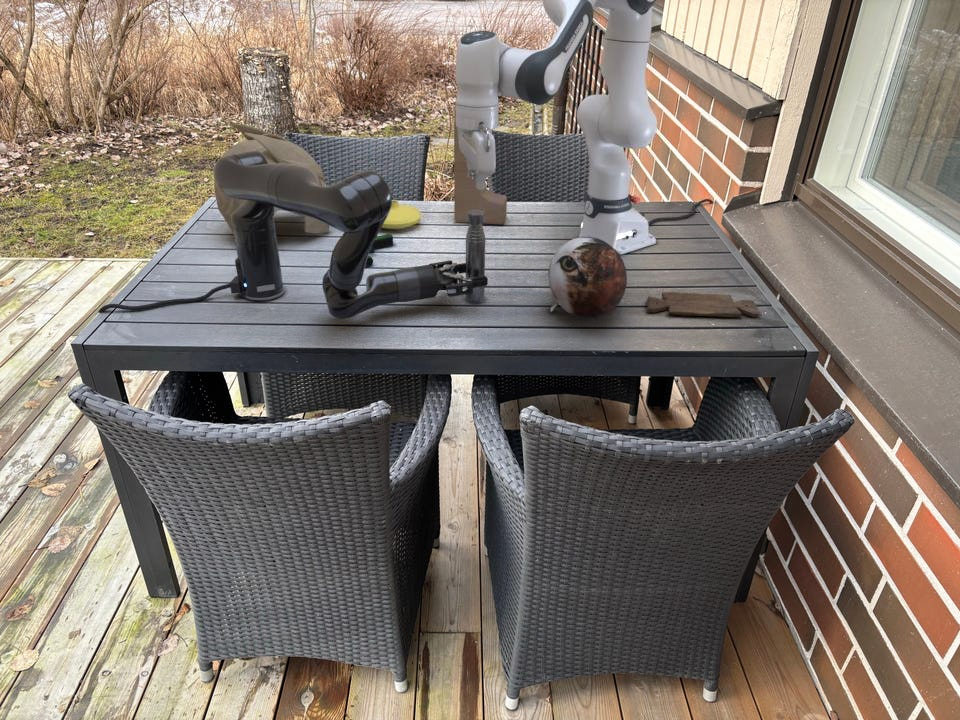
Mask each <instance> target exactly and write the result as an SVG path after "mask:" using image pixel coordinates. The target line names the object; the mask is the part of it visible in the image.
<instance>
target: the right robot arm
mask: <svg viewBox="0 0 960 720" xmlns="http://www.w3.org/2000/svg"><path fill="white" fill-rule="evenodd" d="M656 2H657V0H542V6H543V9H544V11H545V13H546V15H547V17H548V18H549V20H550V21H551V22H552V23H553V24H554V25H555V26H556V27H558V29H557V30H556V32H555V34H554V35H553V37H552V38H551V40H550V42H549V43H548V45H547V46H545V47H544V48H539V49H526V48H520V47H514V46H511V45H509V44H507V43H504V42H503V41H502V40H500V38H498V35H497V33H495V32H493V31H491V30H478V31H471V32H468V33H465V34H464V35H463V36H461V37H460V39H459V41H458V44H457V47H456V55H455V84H456V88H457V93H456V98H455V108H454V120H455V119H456V127H457V128H458V141H459V148H460V151H461V152H462V153H463V155H464V156H465V157H466V162H467V168H468V177H469V178H470V179H476V188H477V189H478V190H484V189H485V186H486V180H487V177H488V175H493V174H495V172H496V167H497V166H496V165H497V161H496V159H497V158H496V157H497V156H496V139H495V136H494V134H493V130H495V129H497V128H498V126H499V103H500V102H499V96H503V97H506V98H512V99H516V100H521V101H524V102H527V103H530V104H533V105H536V106H543V105H546V104H548V103H549V102H550V101H551V100H552V99H554V98H555V97H556V95H557V94H558V93H559V91H560V89H561V87H562V85H563V81H564V79H565V75H566V74H567V71H568V69H569V67H570V66H571V64H572V62H573V60H574V59H575V57H576V55H577V53H578V51H580V48H581V46H582V44H583V43H584V41H585V40H586V38H587V35H588V34H589V32H590V29H591V28H592V24H593V21H594V7H595V8H601V9H605V10H609V14H608V17H607V22H606V27H605V33H604V40H603V48H602V55H601V63H600V73H601V76H602V78H603V79H604V81H605V83H606V84H605V85H606V87H607V93H608V94H605V93H604V94H603V93H602V94H591V95H588V96H586V97H585V98H584V99H582V101H581V102H580V104H579V106H578V108H577V111H576V121H577V124H578V126H579V128H580V130H581V131H582V133H583V137H584V141H585V145H586V149H587V156H588V167H589V168H588V182H587V191H586V192H585V196H584V216H583V220H582V223H581V225H580V231H579V234H578V237H594V238H598V239H601V240H604V241H605V242H607V243H608V244H610V245H611V246H612V247H613V248H614V249H615V250H616V251H617V252H618V253H619V255H625V254H628V253H631V252H634V251H637V250H640V249H643V248H646V247H650V246H652V245H655V244H656V243H657V239H656V237H655V236H654V235H653V234H651V233H650V232H649V230H650V229H649V228H650V226H651V225H652V224H653V223H655V222H658V221H674V220H681V219H685V218H688V217H691V216H693V215H694V214H695V213H696V208H697V206H699V205H701V204H704V203H706V202H708V203H710V204H714V201H713V200H712V199H710V198H705V199H702V200H700V201H698V202H696V203H695V204H693V206H692V211H691V212H689V213H688V214H687V213H686V214H685V215H679V216H680V217H679V216H672V217H671V216H670V217H669V216H668V217H667V216H666V217H656V218H653V219H650V221H649V222H648V220H647V218H646V217H645V213H643V212H639V211H637V210H636V208H634V207H633V203H634V205H639V203H640V202H641V198H640V197H639V196H637V195H636V194H635V195H631V194H630V192H629V191H630V183H631V175H632V165H631V163H630V160H629V159H628V157H627V155H626V152H625V149H632V150H633V149H634V150H636V149H637V150H641V149H644V148H646V147H647V146H649V144H651V143H652V141H653V140H654V138H655V136H656V134H657V131H658V119H657V116H656V114H655V113H654V111H653V110H652V109H653V108H652V107H651V105H650V102H649V96H648V92H647V91H648V90H647V79H646V74H647V65H648V57H649V49H650V42H651V37H652V25H653V6H654V5H655V3H656ZM697 203H698V204H697Z"/></svg>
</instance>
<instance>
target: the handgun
mask: <svg viewBox="0 0 960 720" xmlns="http://www.w3.org/2000/svg"><path fill="white" fill-rule="evenodd" d="M392 246H394V236H393V234H392V233H387V234H382V235H377V237H376V239H375V241H374V243H373V245H372V248H371V250H370V252H369V255H368V258H367V261H366V265H365V268H366V267H371V266H373V264H374V259H373V257H372V256H370V255H371V254H374V253H375V250H376V249H380V248H386V247H392Z"/></svg>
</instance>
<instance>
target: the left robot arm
mask: <svg viewBox="0 0 960 720" xmlns="http://www.w3.org/2000/svg"><path fill="white" fill-rule="evenodd" d="M212 173H213V179H214V180H215V182H216V184H217V186H218V187H219V189H220V190H221V191H222V192H223V193H224V194H225V195H226V196H228V197H229V198H232V199H242V200H246V201H245V202H244V203H243V204H242V205H241V206H240V207H239V208H237V209H236V210H235V211H234V212H233V213H232V215H231V222H232V227H233V232H232V233H234V234H233V238H234V245H235V250H236V255H237V257H236V258H235V260H234V264H235V271H236V275H235V276H234V277H233V278H232V280H230V282H229V283H226V284H222V285H220V286H219V285H218V286H216V287H214V288H212V289H210V290H209V291H208V292H207V293H205V294H204V295H201V296H197V297H189V298H174V299H167V300H161V301H156V302H153V303H147V304H142V305H141V304H140V305H126V304H119V303H108V304H105V305H103V306H101V307H100V308H99V309H98V311H97V313H98V314H102V313H104V312H105V311H107V310H109V309H119V310H124V311H141V310H148V309H152V308H157V307H162V306H167V305H172V304H185V303H186V304H188V303H197V302H201V301H205V300H207V299H209V298H210V297H211V296H212V295H214V294H215V293H217V292H220V291H223V290H227V289H230V292H231V294H240V298H242V299H247V300H248V301H251V302H252V301H253V302H266V301H273V300H275V299H277V298H279V297H281V296H283V294H285V286H284V281H283V273H282V267H281V260H280V253H279V245H278V239H277V232H276V231H277V230H276V225H275V214H274V212H275V207H277V208H279V210H283V211H285V212H289V213H293V214H295V213H297V214H296V215H299V214H301V215H300V216H302V215H304V216H307V217H310V218H313V219H316V220H318V221H320V222H323V223H325V224H327V225H329V226H330V227H331V228H333V229H335V230H337V231H340V232H342V235H341V236H340V238H338V240H337V242H336V243H335V246H334V248H333V250H332V252H331V256H330V261H329V267H328V269H327V271H326V272H325V273H324V274H323V277H322V281H321V286H322V292H323V295H324V299H325V302H326V307H327V310H328V313H329V314H330V315H331V316H332V317H333V318H336V319H338V320H349V319H351V318H353V317H356V316H358V315H360V314H362V313H364V312H366V311H369V310H372V309H374V308H377V307H379V306H383V305H390V304H396V303H409V302H415V301H421V300H427V299H433V298H436V297H437V295H438V293H439V292H440V291H443V292H444V291H446V296H447V297H449V298H450V297H459V296H465V295H467V294H472V293H473V288H476V287H483V286H485V287H486V286H488V283H489V281H488V280H489V279H488V277H487V276H486V275H485V276H482V277H475V278H472V279H471V278H466V277H464V276H463V274H466V262H461V263H457V262H453V260H451V259H450V260H444V261H438V262H432V263H429V264H424V265H416V266H409V267H403V268H398V269H395V270H391V271H385V272H378V273H372V274H370V275H368V276H367V277H366V280H365V292H363V293H361V294H359V293H358V289H357V287H359V285H360V284H361V282H362V280H363V276H364V273H365V268H366V267H365V265H366V261H367V258H368V256H370V254H369V252H370V250H371V248H372V245H373V243H374V241H375V239H376V237H377V236H379V233H380V232H381V229H382V225H383V223H384V222H385V220H386V218H387V216H388V214H389V212H390V210H391V207H392V201H393V195H392V191H391V188H390V186H389V184H388V182H387V181H386V180H385V178H384V177H383V176H382V175H381V174H380V173H378V172H377V171H374V170H372V169H370V170H369V169H366V170H365V169H364V170H362V171H359V172H357V173H355V174H352V175H350V176H348V177H346V178H344V179H343V180H341V181H339V182H337V183H334V184H332V185H327V186H322V183H321V181H320V179H319V177H318V176H317V175H316V174H315V173H314V172H313V171H312V170H310V169H309V168H306V167H303V166H299V165H294V164H288V163H273V164H269V163H268V161H267V159H266V157H265V156H264V155H263V154H262V153H261V152H259V151H248V152H242V153H237V154H232V155H227V156H224V157H220V158H219V159H218V160H217V161H216V162H215V164H214V166H213V172H212ZM304 216H303V217H304Z"/></svg>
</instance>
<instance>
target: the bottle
mask: <svg viewBox="0 0 960 720" xmlns="http://www.w3.org/2000/svg"><path fill="white" fill-rule="evenodd" d="M483 226H484V225H483V223H482V224H477V225H475V224H470V223H469V225H468V229H467V231H466V235H465V263H466V273H465V278H471V279H472V278H475V277H482V276H486V234H485V230H484V227H483ZM485 287H486V286H483V287H476V288H473V293H472V294H467V295H464V296H465V297H464V298H465V302H466V303H469V304H472V305H479V304H482V303H484V302H485V289H486V288H485Z"/></svg>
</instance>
